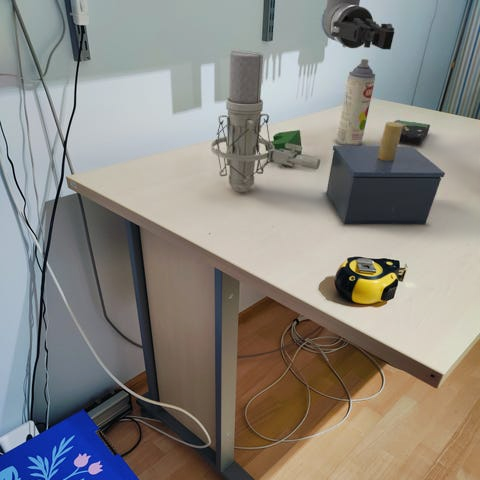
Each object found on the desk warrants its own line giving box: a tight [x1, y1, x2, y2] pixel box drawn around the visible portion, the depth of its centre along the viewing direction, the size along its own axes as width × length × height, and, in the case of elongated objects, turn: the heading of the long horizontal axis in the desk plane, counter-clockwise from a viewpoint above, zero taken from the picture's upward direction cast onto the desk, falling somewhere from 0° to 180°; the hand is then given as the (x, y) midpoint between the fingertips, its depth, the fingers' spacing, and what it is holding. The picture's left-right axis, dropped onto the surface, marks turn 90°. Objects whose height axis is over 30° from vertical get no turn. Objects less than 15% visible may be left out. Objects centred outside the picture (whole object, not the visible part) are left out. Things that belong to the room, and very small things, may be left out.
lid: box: [332, 121, 446, 178], centre depth 77 cm, size 16×14×7 cm
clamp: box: [264, 129, 303, 167], centre depth 103 cm, size 12×6×9 cm, turn 153°
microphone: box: [210, 49, 321, 193], centre depth 80 cm, size 12×22×25 cm, turn 61°
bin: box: [325, 151, 442, 226], centre depth 82 cm, size 16×14×9 cm
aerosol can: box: [336, 58, 376, 146], centre depth 111 cm, size 7×7×20 cm
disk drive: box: [393, 119, 431, 147], centre depth 123 cm, size 10×3×15 cm
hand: (388, 40), depth 76 cm, fingers closed
